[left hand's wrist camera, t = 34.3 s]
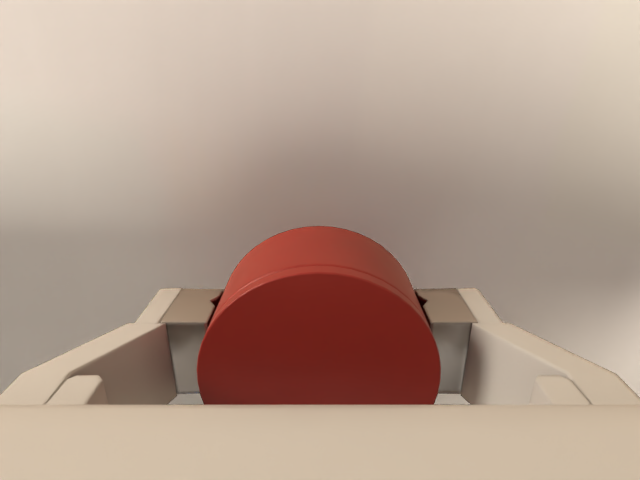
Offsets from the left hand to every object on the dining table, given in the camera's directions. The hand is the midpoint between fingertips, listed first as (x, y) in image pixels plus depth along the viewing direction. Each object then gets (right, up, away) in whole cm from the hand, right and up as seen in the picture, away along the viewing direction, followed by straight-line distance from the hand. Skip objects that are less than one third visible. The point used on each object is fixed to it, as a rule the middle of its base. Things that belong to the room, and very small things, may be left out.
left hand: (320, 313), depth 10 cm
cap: (0, -1, -2) cm, 2 cm away
